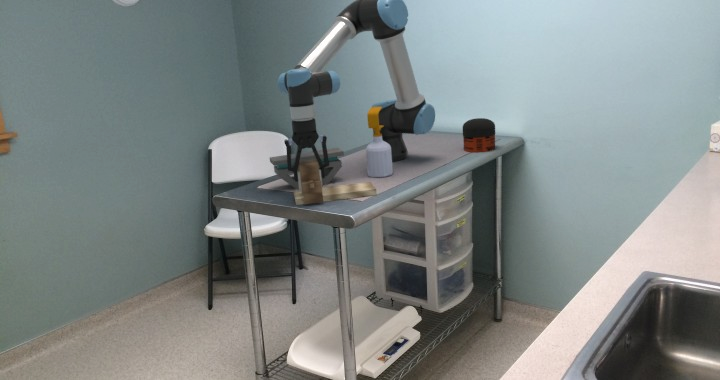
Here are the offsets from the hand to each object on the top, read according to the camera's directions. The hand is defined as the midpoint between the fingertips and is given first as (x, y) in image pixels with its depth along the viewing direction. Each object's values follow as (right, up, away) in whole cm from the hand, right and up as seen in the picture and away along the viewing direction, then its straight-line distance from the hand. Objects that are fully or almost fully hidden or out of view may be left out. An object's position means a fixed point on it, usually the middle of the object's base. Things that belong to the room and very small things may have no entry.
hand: (310, 189), depth 201 cm
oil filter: (+65, +16, +52) cm, 85 cm away
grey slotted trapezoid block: (-2, +2, +20) cm, 20 cm away
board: (+8, -2, +2) cm, 8 cm away
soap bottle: (+23, +5, +25) cm, 34 cm away
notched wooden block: (+1, -3, -2) cm, 4 cm away
